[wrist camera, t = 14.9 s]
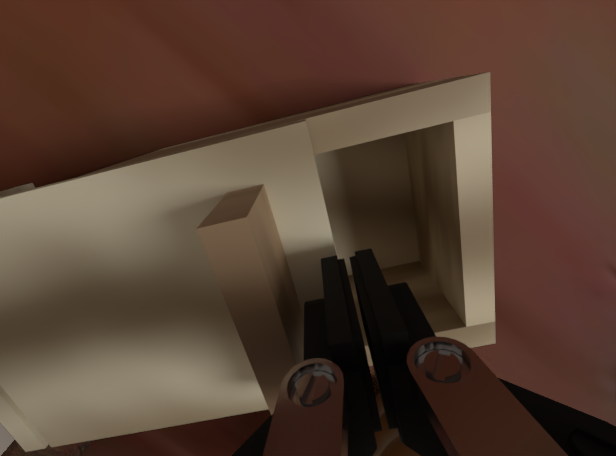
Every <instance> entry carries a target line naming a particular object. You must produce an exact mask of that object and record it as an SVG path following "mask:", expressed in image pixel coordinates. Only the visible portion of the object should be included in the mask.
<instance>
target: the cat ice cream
mask: <svg viewBox="0 0 616 456" xmlns="http://www.w3.org/2000/svg"><path fill="white" fill-rule="evenodd" d="M376 402H377V407H378V412H379V416H380V421H381V426H382V431H378V432H374V434H375V438H376V443H377V450H376V451H375V453H374V454H373V456H421V455H419V454H418V453H416V452H415V451H413V450H412V449H410V448H409V447H407V446H406V445H404V443H401V440H400V437H399V433H398V429H390V430H389V427H388V423H387V419H386V415H385V411H384V407H383V403H382V399H381V395H380V392H379V393H378V394H377V396H376Z"/></svg>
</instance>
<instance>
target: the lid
mask: <svg viewBox="0 0 616 456" xmlns="http://www.w3.org/2000/svg"><path fill="white" fill-rule="evenodd" d="M336 255H337V253H336V249H335V244H334V240H333V236H332V231H331V227H330V223H329V218H328V214H327V209H326V205H325V201H324V196H323V192H322V188H321V183H320V179H319V175H318V170H317V166H316V162H315V157H314V153H313V148H312V144H311V140H310V135H309V131H308V127H307V122H306V119H305V120H301V121H297V122H293V123H289V124H285V125H281V126H277V127H273V128H269V129H265V130H261V131H257V132H253V133H249V134H245V135H241V136H238V137H234V138H230V139H226V140H222V141H218V142H214V143H210V144H206V145H202V146H198V147H194V148H190V149H186V150H182V151H178V152H175V153H171V154H167V155H163V156H159V157H155V158H151V159H147V160H143V161H139V162H135V163H131V164H127V165H123V166H119V167H115V168H111V169H108V170H104V171H100V172H96V173H92V174H88V175H84V176H80V177H76V178H72V179H68V180H64V181H60V182H56V183H52V184H48V185H45V186H41V187H37V188H35V186H34V184H33V183H29V184H25V185H21V186H18V187H14V188H10V189H7V190H4V191H0V423H1V424H2V425H3V426H4V428H5V429H6V430H7V431H8V432H9V433H10V434H11V436H12V437H13V438H14V439H15V440H16V441H17V442H18V444H19V445H20V446H21V447H22V448H23V449H24V450H25V452H28V451H34V450H39V449H45V448H46V447H47V446H48V444H49V445H50V446H51V447H57V446H62V445H68V444H74V443H79V442H85V441H91V440H96V439H102V438H108V437H114V436H119V435H125V434H131V433H136V432H142V431H148V430H153V429H159V428H165V427H171V426H176V425H182V424H188V423H193V422H199V421H205V420H210V419H216V418H222V417H228V416H233V415H239V414H245V413H250V412H256V411H262V410H268V409H269V411H270V414H271V415H272V414H273V413H274V409H275V406H276V402H277V398H278V394H279V390H280V386H281V383H282V381H283V379H284V377H285V375H286V374H287V373H288V372H289V370H290V369H291V368H293V367H294V366H295V365H297V364H298V363H300V362H303V356H304V303H305V302H306V301H311V300H316V299H321V298H324V291H323V280H322V268H321V258H326V257H331V256H336ZM337 258H338V257H337Z"/></svg>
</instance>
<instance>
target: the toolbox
mask: <svg viewBox="0 0 616 456" xmlns="http://www.w3.org/2000/svg"><path fill="white" fill-rule="evenodd" d="M305 119H306V122H307V127H308V131H309V135H310V140H311V144H312V148H313V153H314V157H315V162H316V166H317V170H318V175H319V179H320V183H321V188H322V192H323V196H324V201H325V205H326V209H327V214H328V218H329V223H330V227H331V231H332V236H333V240H334V244H335V249H336V253H337V257H338V259H343V258H344V260H345V264H346V268H347V273H348V277H349V281H350V285H351V290H352V294H353V298H354V302H355V307H356V311H357V315H358V319H359V323H360V328H361V332H362V336H363V341H364V345H365V350H366V355H367V359H368V364H369V366H373V363H372V359H371V355H370V351H369V347H368V343H367V339H366V335H365V331H364V327H363V322H362V317H361V312H360V307H359V303H358V298H357V293H356V288H355V283H354V278H353V273H352V269H351V264H350V259H349V257H352V256H355V251H360V250H365V249H369V248H371V249H372V251H373V253H374V256H375V258H376V260H377V262H378V265H379V267H380V269H381V272H382V274H383V276H384V278H385V281H386V283H387V285H392V284H397V283H402V282H406V283H407V284H408V286H409V288H410V290H411V291H412V293H413V295H414V297H415V299H416V301H417V302H418V304H419V306H420V308H421V310H422V311H423V313H424V315H425V317H426V319H427V321H428V322H429V324H430V326H431V328H432V330H433V331H434V333H435V335H436V337H447V338H451V339H455V340H458V341H460V342H462V343H464V344H466V345H467V346H468V347H469V348H472V347H477V346H483V345H488V344H494V343H495V294H494V245H493V195H492V146H491V97H490V72H486V73H480V74H473V75H467V76H461V77H454V78H448V79H442V80H435V81H429V82H422V83H416V84H413V85H409V86H405V87H401V88H397V89H393V90H389V91H385V92H381V93H377V94H373V95H370V96H366V97H362V98H358V99H354V100H350V101H346V102H342V103H338V104H334V105H331V106H327V107H323V108H319V109H315V110H311V111H307V112H303V113H299V114H295V115H291V116H288V117H284V118H280V119H276V120H272V121H268V122H264V123H260V124H256V125H252V126H248V127H245V128H241V129H237V130H233V131H229V132H225V133H221V134H217V135H213V136H209V137H205V138H202V139H198V140H194V141H190V142H186V143H182V144H178V145H174V146H170V147H166V148H163V149H160V150H157V151H154V152H151V153H148V154H145V155H142V156H139V157H136V158H133V159H130V160H127V161H124V162H121V163H118V164H115V165H112V166H109V167H106V168H103V169H100V170H97V171H94V172H91V173H88V174H92V173H96V172H100V171H104V170H108V169H111V168H115V167H119V166H123V165H127V164H131V163H135V162H139V161H143V160H147V159H151V158H155V157H159V156H163V155H167V154H171V153H175V152H178V151H182V150H186V149H190V148H194V147H198V146H202V145H206V144H210V143H214V142H218V141H222V140H226V139H230V138H234V137H238V136H241V135H245V134H249V133H253V132H257V131H261V130H265V129H269V128H273V127H277V126H281V125H285V124H289V123H293V122H297V121H301V120H305ZM88 174H85V175H88ZM82 176H84V175H82Z"/></svg>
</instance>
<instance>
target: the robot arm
mask: <svg viewBox="0 0 616 456" xmlns="http://www.w3.org/2000/svg"><path fill="white" fill-rule="evenodd" d="M349 259H350V264H351V269H352V273H353V278H354V283H355V288H356V293H357V298H358V303H359V307H360V312H361V317H362V322H363V327H364V331H365V335H366V339H367V343H368V347H369V351H370V355H371V359H372V363H373V367H374V371H375V375H376V379H377V383H378V387H379V391H380V395H381V399H382V403H383V407H384V411H385V415H386V419H387V423H388V427H389V430H390V429H398V433H399V437H400V440H401V443H404V445H406V446H407V447H409V448H410V449H412V450H413V451H415V452H416V453H418V454H419V455H421V456H616V427H615V426H613V425H611V424H609V423H608V422H606V421H603V420H601V419H598V418H596V417H593V416H591V415H588V414H586V413H583V412H581V411H578V410H576V409H573V408H571V407H569V406H566V405H564V404H561V403H559V402H556V401H554V400H551V399H549V398H546V397H544V396H541V395H539V394H536V393H534V392H532V391H529V390H527V389H524V388H522V387H519V386H517V385H514V384H512V383H509V382H507V381H504V380H502V379H499V378H497V377H496V376H495V374H494V373H493V372H492V371H491V370H490V369H489V368H488V367H487V366H486V365H485V363H484V362H483V361H482V360H481V359H480V358H479V357H478V356H477V355H476V353H475V352H474V351H473V350H471V349H470V348H469V347H468V346H467V345H466V344H464V343H462V342H460V341H458V340H455V339H451V338H447V337H436V335H435V333H434V331H433V330H432V328H431V326H430V324H429V322H428V321H427V319H426V317H425V315H424V313H423V311H422V310H421V308H420V306H419V304H418V302H417V301H416V299H415V297H414V295H413V293H412V291H411V290H410V288H409V286H408V284H407V283H406V282H402V283H397V284H392V285H387V283H386V281H385V278H384V276H383V274H382V272H381V269H380V267H379V265H378V262H377V260H376V258H375V256H374V253H373V251H372V249H371V248H369V249H365V250H360V251H355V256H352V257H349ZM321 268H322V280H323V291H324V298H321V299H316V300H311V301H306V302H305V303H304V356H303V362H300V363H298V364H297V365H295V366H294V367H293V368H291V369H290V370H289V372H288V373H287V374H286V375H285V377H284V379H283V381H282V383H281V386H280V390H279V394H278V398H277V402H276V406H275V409H274V413H273V414H272V415H271V416H270V417H269V418H268V419H267V420H266V421H265V422H264V423H263V424H262V426H261V427H260V428H259V429H258V430H257V431H256V432H255V433H254V434H253V435H252V436H251V437H250V438H249V439H248V440H247V441H246V442H245V443H244V444H243V445H242V446H241V447H240V448H239V449H238V450H237V451H236V452H235V453H234V454H233V455H232V456H373V454H374V453H375V451H376V450H377V443H376V438H375V434H374V432H378V431H382V426H381V421H380V416H379V412H378V407H377V402H376V397H375V393H374V388H373V383H372V378H371V374H370V369H369V364H368V359H367V355H366V350H365V345H364V341H363V336H362V332H361V328H360V323H359V319H358V315H357V311H356V307H355V302H354V298H353V294H352V290H351V285H350V281H349V277H348V273H347V268H346V264H345V260H344V258H343V259H338V258H337V255H336V256H331V257H326V258H321Z"/></svg>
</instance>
